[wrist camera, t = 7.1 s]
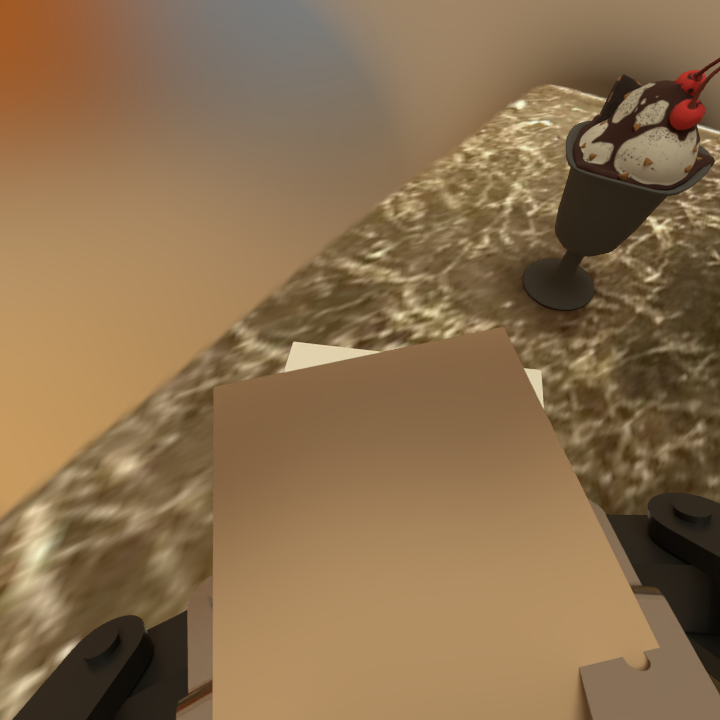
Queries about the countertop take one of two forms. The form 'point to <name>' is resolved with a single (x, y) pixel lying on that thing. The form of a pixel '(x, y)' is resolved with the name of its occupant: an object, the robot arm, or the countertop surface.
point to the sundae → (621, 177)
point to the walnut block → (407, 545)
